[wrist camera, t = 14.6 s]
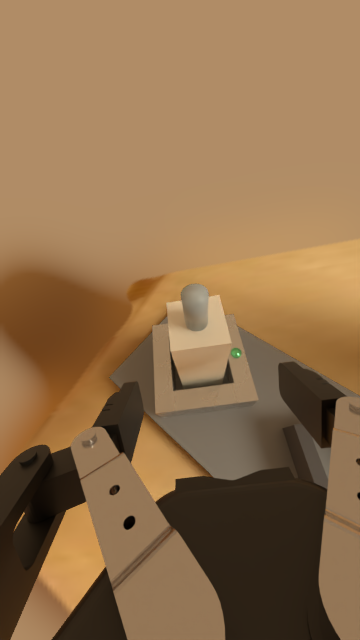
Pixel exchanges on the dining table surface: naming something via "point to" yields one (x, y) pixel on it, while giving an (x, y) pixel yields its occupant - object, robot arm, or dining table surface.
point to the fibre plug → (198, 337)
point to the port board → (229, 414)
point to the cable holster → (305, 455)
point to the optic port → (202, 398)
